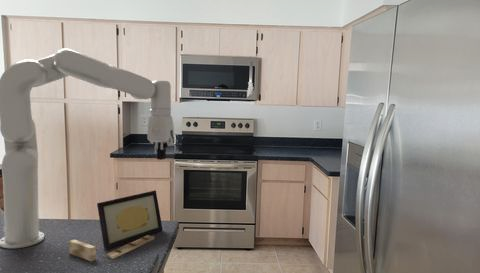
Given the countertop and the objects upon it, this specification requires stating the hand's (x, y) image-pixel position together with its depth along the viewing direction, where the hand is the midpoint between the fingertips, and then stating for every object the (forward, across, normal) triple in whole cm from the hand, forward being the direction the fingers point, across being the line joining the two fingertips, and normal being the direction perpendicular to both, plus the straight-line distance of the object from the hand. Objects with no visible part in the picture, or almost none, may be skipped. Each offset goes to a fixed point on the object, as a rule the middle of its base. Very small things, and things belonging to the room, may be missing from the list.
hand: (161, 158), depth 133 cm
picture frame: (+26, 0, -18) cm, 31 cm away
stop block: (+25, 0, -37) cm, 45 cm away
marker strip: (+25, +8, -24) cm, 36 cm away
